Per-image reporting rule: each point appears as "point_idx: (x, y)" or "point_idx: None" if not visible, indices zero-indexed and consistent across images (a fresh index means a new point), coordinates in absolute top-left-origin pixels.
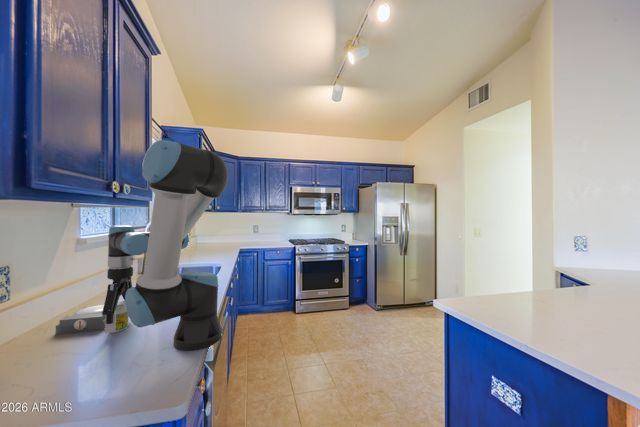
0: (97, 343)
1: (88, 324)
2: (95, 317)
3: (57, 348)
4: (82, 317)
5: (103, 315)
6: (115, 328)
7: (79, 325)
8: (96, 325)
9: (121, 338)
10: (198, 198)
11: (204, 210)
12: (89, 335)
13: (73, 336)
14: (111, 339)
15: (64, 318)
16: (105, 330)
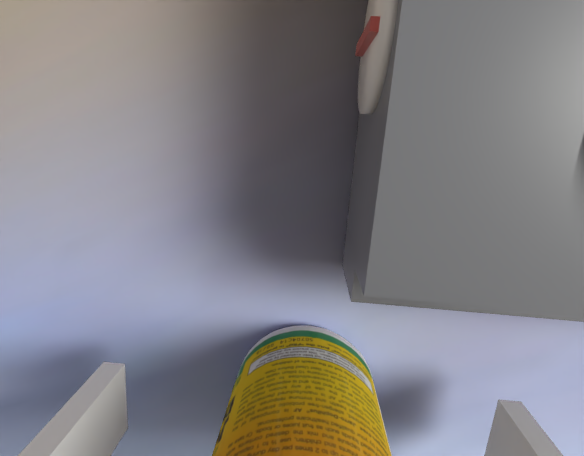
0: (50, 309)
1: (367, 135)
2: (369, 228)
3: (7, 27)
4: (442, 22)
5: (443, 298)
6: (109, 450)
7: (361, 37)
8: (353, 216)
9: None
10: None
11: None
12: (234, 190)
13: (255, 46)
14: None
15: None
16: (89, 380)
